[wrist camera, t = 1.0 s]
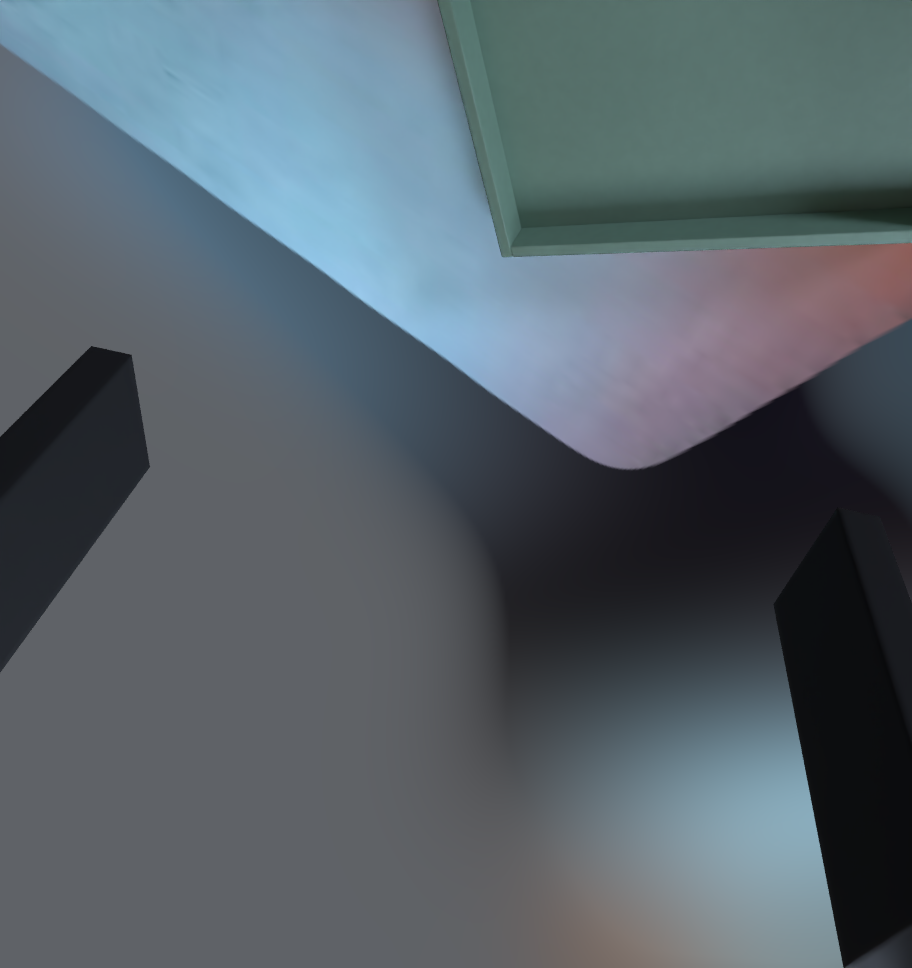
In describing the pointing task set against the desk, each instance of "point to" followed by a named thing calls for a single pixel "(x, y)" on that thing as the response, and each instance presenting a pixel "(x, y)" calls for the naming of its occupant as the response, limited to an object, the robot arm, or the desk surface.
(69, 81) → the desk surface
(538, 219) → the tray
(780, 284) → the desk surface
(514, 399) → the desk surface
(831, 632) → the robot arm
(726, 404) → the desk surface
